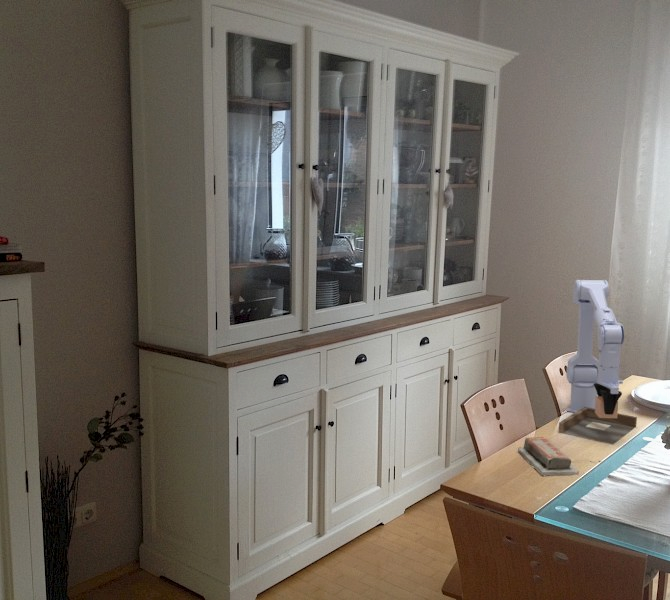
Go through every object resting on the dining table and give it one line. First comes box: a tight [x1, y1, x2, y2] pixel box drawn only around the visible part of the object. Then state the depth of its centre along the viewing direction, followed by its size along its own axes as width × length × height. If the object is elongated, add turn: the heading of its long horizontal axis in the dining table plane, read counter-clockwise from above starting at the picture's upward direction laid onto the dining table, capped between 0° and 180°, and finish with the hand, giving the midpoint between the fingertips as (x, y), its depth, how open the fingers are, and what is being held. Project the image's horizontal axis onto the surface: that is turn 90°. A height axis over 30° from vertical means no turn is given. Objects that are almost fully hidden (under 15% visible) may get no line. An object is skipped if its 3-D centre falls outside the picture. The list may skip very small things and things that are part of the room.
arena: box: [558, 407, 638, 445], centre depth 219 cm, size 20×16×4 cm
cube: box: [595, 396, 619, 418], centre depth 212 cm, size 5×5×5 cm
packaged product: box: [517, 436, 580, 477], centre depth 196 cm, size 18×5×10 cm
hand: (606, 411), depth 213 cm, fingers closed on cube, 5 cm apart
